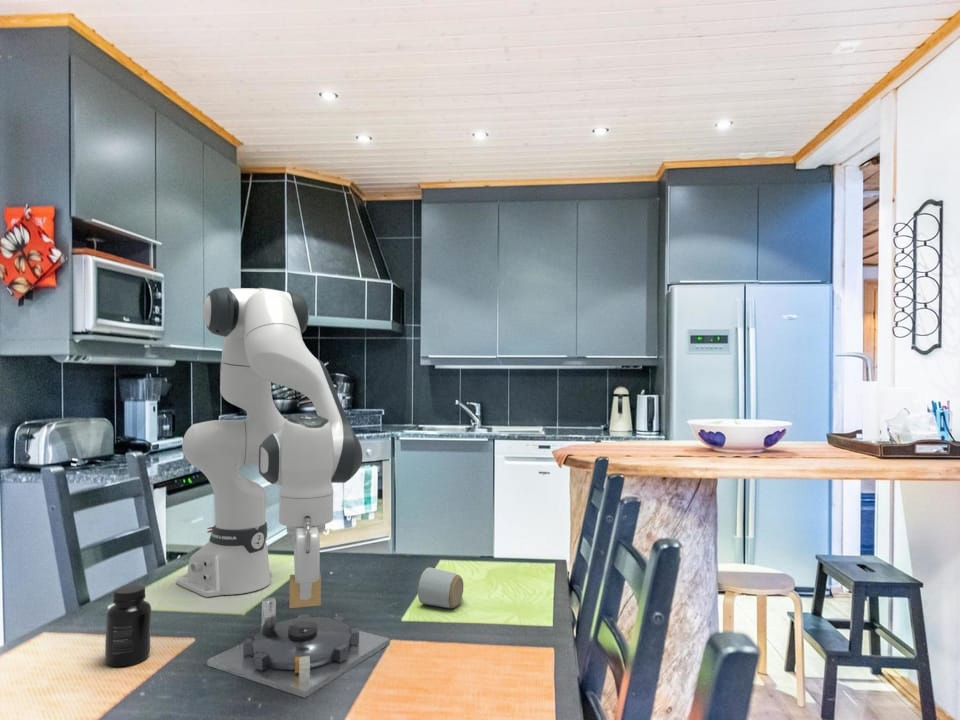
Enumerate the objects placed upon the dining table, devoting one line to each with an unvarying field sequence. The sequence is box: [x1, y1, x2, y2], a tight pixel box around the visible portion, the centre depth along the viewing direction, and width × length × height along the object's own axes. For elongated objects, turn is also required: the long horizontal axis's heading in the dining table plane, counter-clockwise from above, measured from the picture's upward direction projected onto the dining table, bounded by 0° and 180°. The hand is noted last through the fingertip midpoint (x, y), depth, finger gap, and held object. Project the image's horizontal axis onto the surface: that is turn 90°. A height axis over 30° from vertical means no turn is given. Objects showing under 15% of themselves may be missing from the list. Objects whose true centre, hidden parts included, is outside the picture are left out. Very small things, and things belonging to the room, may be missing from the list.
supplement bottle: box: [104, 584, 152, 668], centre depth 106 cm, size 7×7×12 cm
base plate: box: [206, 630, 391, 699], centre depth 109 cm, size 22×22×4 cm
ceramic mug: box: [417, 566, 464, 609], centre depth 135 cm, size 11×8×8 cm
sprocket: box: [242, 597, 360, 673], centre depth 109 cm, size 20×20×8 cm
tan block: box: [288, 571, 322, 609], centre depth 103 cm, size 5×3×5 cm, turn 107°
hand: (304, 593), depth 103 cm, fingers closed on tan block, 3 cm apart
